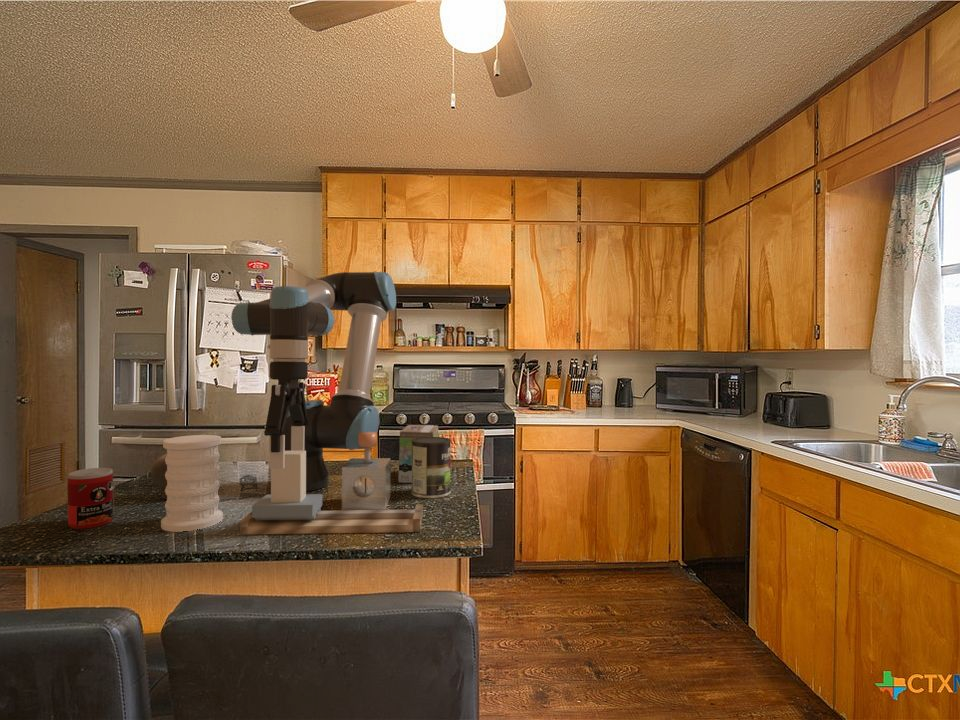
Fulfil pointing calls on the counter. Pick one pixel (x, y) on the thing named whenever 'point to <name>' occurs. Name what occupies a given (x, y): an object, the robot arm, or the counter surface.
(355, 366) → the robot arm
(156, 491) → the counter surface
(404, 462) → the tea box
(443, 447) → the coffee can
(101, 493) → the canned food
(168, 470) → the decorative container
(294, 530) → the rail track
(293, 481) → the carriage
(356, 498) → the box with ball knob
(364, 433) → the plunger
